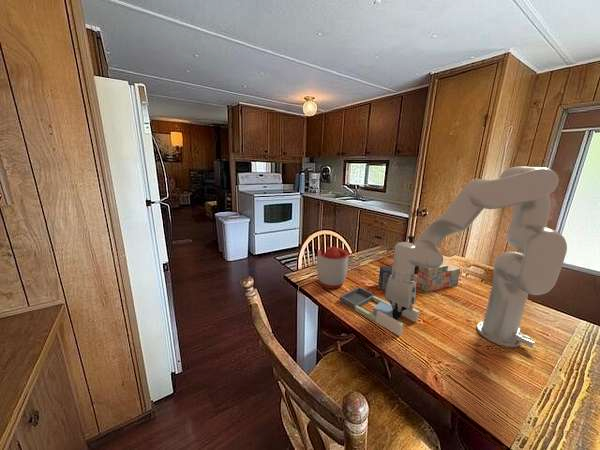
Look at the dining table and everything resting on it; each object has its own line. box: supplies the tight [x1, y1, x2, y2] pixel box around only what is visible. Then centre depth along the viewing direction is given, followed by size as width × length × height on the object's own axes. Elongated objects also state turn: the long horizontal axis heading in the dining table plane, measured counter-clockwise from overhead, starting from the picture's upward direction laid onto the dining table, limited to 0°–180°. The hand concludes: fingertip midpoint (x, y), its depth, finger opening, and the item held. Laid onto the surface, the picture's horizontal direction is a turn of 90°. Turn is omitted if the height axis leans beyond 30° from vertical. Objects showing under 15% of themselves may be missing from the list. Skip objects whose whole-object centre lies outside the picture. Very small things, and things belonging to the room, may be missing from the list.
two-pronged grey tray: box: [339, 286, 420, 337], centre depth 101 cm, size 29×14×4 cm, turn 39°
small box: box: [378, 265, 393, 291], centre depth 119 cm, size 11×6×10 cm, turn 84°
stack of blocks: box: [415, 262, 461, 292], centre depth 122 cm, size 21×6×12 cm, turn 110°
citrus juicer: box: [316, 246, 350, 290], centre depth 122 cm, size 16×17×20 cm
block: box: [372, 302, 393, 318], centre depth 98 cm, size 6×6×4 cm
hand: (396, 318), depth 95 cm, fingers closed
